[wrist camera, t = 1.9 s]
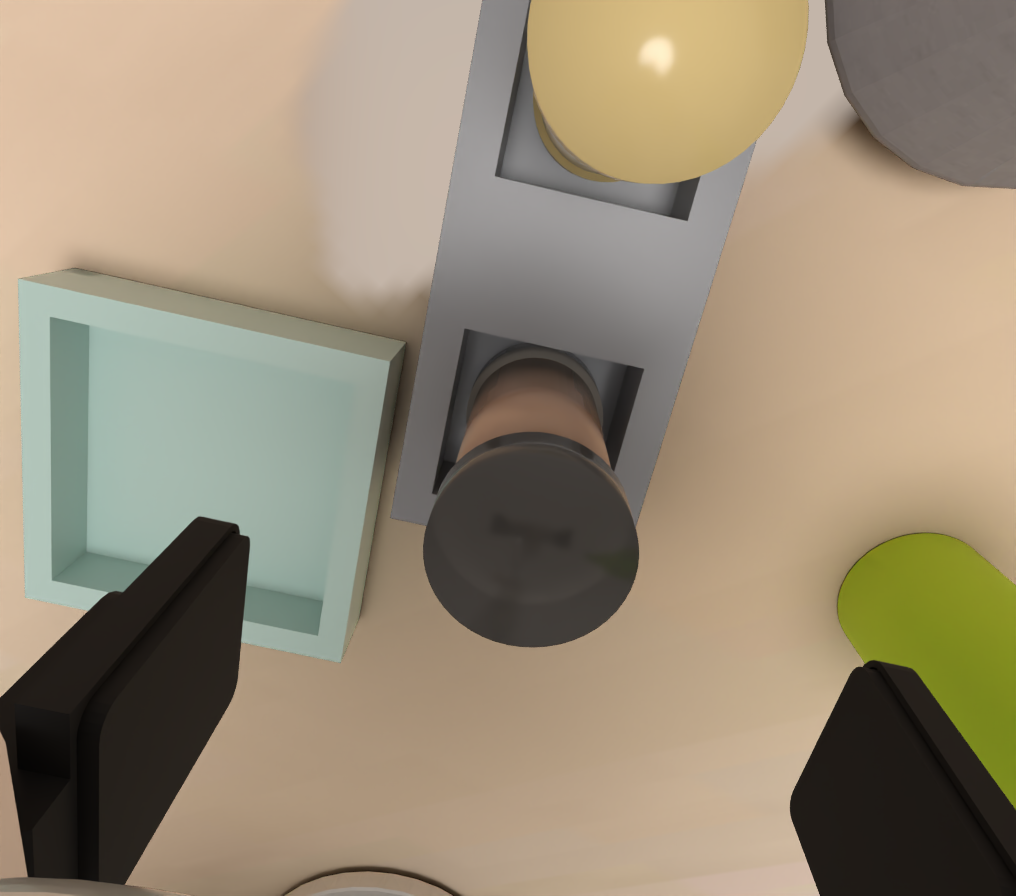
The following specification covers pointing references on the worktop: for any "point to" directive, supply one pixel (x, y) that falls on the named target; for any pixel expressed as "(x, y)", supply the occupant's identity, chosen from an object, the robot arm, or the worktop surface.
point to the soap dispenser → (943, 635)
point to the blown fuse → (532, 507)
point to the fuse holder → (557, 275)
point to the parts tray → (201, 447)
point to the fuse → (659, 82)
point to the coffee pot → (933, 82)
